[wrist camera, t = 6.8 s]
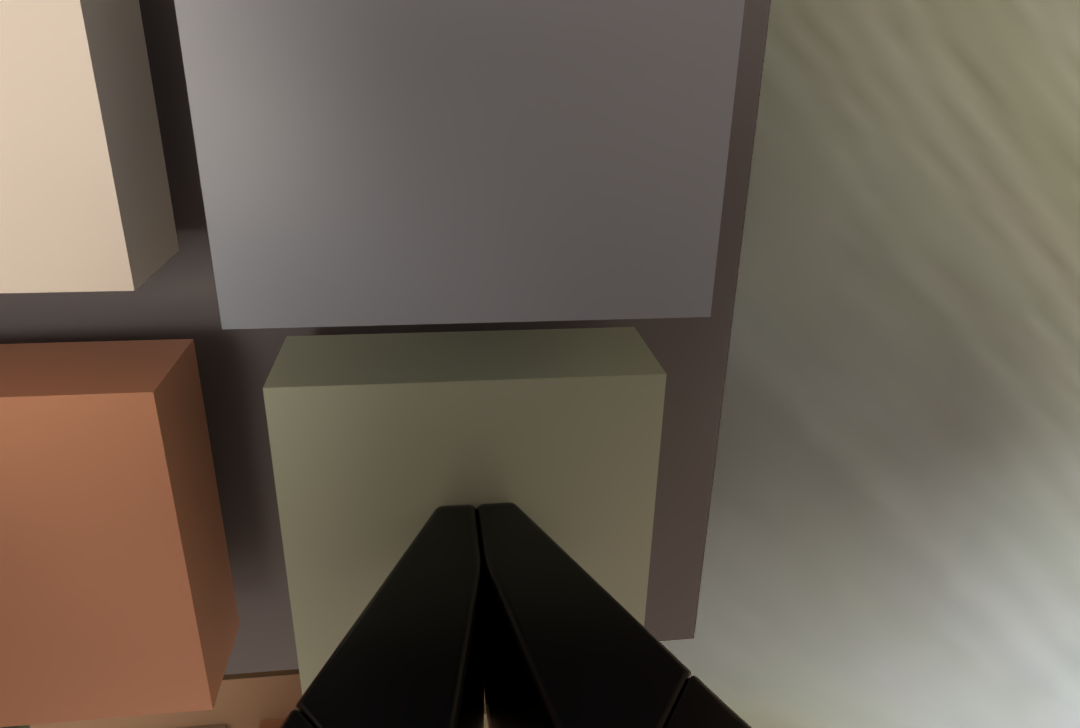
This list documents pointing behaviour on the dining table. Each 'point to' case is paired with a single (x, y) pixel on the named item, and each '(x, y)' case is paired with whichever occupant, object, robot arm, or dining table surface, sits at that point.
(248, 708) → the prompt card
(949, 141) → the dining table surface
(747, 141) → the keypad board
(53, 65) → the cream key
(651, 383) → the sage key
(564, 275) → the slate-blue key
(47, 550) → the rust key
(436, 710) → the robot arm
